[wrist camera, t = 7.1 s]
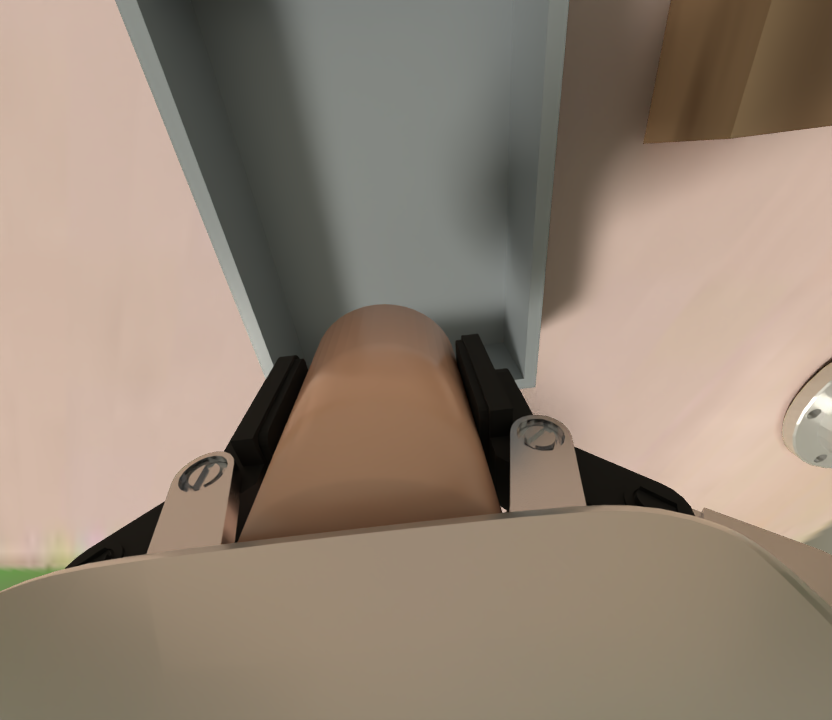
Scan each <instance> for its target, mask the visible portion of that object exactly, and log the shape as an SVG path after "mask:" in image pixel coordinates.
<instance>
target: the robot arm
mask: <svg viewBox="0 0 832 720" xmlns="http://www.w3.org/2000/svg"><path fill="white" fill-rule="evenodd" d="M455 346H456V361H457V364H458V368H459V371H460V374H461V378H462V381H463V384H464V388H465V391H466V394H467V398H468V401H469V404H470V408H471V411H472V414H473V417H474V421H475V424H476V427H477V431H478V434H479V437H480V441H481V444H482V447H483V451H484V454H485V457H486V461H487V464H488V467H489V471H490V474H491V477H492V481H493V484H494V487H495V491H496V494H497V497H498V500H499V504H500V506H501V507H503V508H504V509H506V510H507V511H506V512H505V513H495V514H486V515H477V516H468V517H458V518H449V519H440V520H431V521H421V522H412V523H403V524H394V525H385V526H376V527H367V528H359V529H350V530H341V531H332V532H323V533H315V534H306V535H297V536H289V537H280V538H272V539H263V540H255V541H247V542H238V540H239V538H240V535H241V533H242V530H243V528H244V525H245V523H246V521H247V518H248V516H249V513H250V511H251V508H252V506H253V504H254V501H255V499H256V496H257V494H258V491H259V489H260V487H261V484H262V482H263V479H264V477H265V474H266V472H267V469H268V467H269V465H270V462H271V460H272V457H273V455H274V452H275V450H276V448H277V445H278V443H279V440H280V438H281V435H282V433H283V431H284V428H285V426H286V423H287V421H288V418H289V416H290V414H291V411H292V409H293V406H294V404H295V401H296V399H297V397H298V394H299V392H300V389H301V387H302V384H303V382H304V380H305V377H306V375H307V372H308V368H307V365H306V362H305V360H304V359H303V358H302V359H300V358H299V357H298V356H297V355H292V356H284V357H279V358H278V359H277V361H276V363H275V364H274V366H273V368H272V370H271V371H270V373H269V375H268V376H267V378H266V380H265V382H264V383H263V385H262V387H261V388H260V390H259V392H258V394H257V395H256V397H255V399H254V400H253V402H252V404H251V406H250V407H249V409H248V411H247V412H246V414H245V416H244V418H243V419H242V421H241V423H240V425H239V426H238V428H237V430H236V431H235V433H234V435H233V437H232V438H231V440H230V442H229V444H228V445H227V447H226V449H225V451H224V452H218V451H217V452H212V453H208V454H205V455H202V456H200V457H198V458H196V459H194V460H193V461H191V462H189V463H188V464H187V465H186V466H184V467H183V468H182V469H181V470H180V471H179V472H178V473H177V474H176V475H175V477H174V479H173V481H172V483H171V486H170V489H169V491H168V494H167V497H166V500H165V502H163V503H161V504H160V505H158V506H157V507H155V508H153V509H152V510H150V511H149V512H147V513H145V514H144V515H142V516H141V517H139V518H137V519H136V520H134V521H133V522H131V523H129V524H128V525H126V526H124V527H123V528H121V529H120V530H118V531H116V532H115V533H113V534H112V535H110V536H108V537H107V538H105V539H104V540H102V541H100V542H99V543H97V544H96V545H94V546H92V547H91V548H89V549H88V550H86V551H85V552H84V553H82V554H81V555H79V556H78V557H77V558H76V559H74V560H73V561H72V562H71V563H70V564H69V565H68V566H67V567H66V568H65V569H63V570H59V571H55V572H52V573H49V574H46V575H43V576H40V577H36V578H33V579H30V580H27V581H24V582H22V583H19V584H17V585H15V586H12V587H10V588H7V589H5V590H3V591H0V720H832V555H831V554H828V553H827V552H824V551H822V550H820V549H817V548H814V547H811V546H809V545H806V544H803V543H800V542H798V541H795V540H792V539H789V538H787V537H784V536H781V535H778V534H776V533H773V532H770V531H767V530H765V529H762V528H759V527H756V526H754V525H751V524H748V523H745V522H743V521H740V520H737V519H734V518H732V517H729V516H726V515H723V514H721V513H718V512H715V511H712V510H710V509H707V508H703V510H702V512H699V511H697V510H694V509H692V508H691V506H690V505H689V504H688V503H687V502H686V500H685V499H684V498H683V497H682V496H680V495H679V494H678V493H676V492H675V491H674V490H672V489H671V488H669V487H667V486H665V485H663V484H661V483H659V482H656V481H654V480H652V479H649V478H647V477H645V476H642V475H640V474H637V473H635V472H633V471H630V470H628V469H626V468H623V467H621V466H619V465H616V464H614V463H611V462H609V461H607V460H604V459H602V458H600V457H597V456H595V455H593V454H590V453H588V452H586V451H583V450H581V449H578V448H576V447H574V445H573V440H572V436H571V433H570V431H569V429H568V428H567V427H566V426H565V425H564V424H563V423H561V422H559V421H558V420H556V419H553V418H551V417H548V416H542V415H533V414H532V412H531V410H530V408H529V406H528V405H527V403H526V401H525V399H524V397H523V395H522V393H521V391H520V390H519V388H518V386H517V384H516V382H515V380H514V378H513V376H512V375H511V373H510V371H509V370H508V369H507V368H503V369H495V368H494V366H493V364H492V362H491V360H490V358H489V356H488V353H487V351H486V349H485V347H484V345H483V343H482V341H481V339H480V336H479V334H469V335H461V340H456V341H455ZM782 437H783V442H784V444H785V445H786V447H787V448H788V450H789V451H791V452H792V453H793V454H795V455H796V456H797V457H798V458H800V459H801V460H802V461H804V462H806V463H808V464H810V465H813V466H817V467H822V468H832V362H831V363H829V364H828V365H827V366H825V367H824V368H823V369H822V370H821V371H820V372H818V373H817V374H816V375H815V376H814V377H813V378H812V379H811V380H810V381H809V382H808V383H807V384H806V385H805V386H804V387H803V389H802V390H801V391H800V392H799V393H798V395H797V396H796V397H795V399H794V400H793V402H792V404H791V405H790V407H789V408H788V410H787V413H786V415H785V418H784V421H783V427H782ZM237 542H238V543H237Z"/></svg>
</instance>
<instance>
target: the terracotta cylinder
mask: <svg viewBox="0 0 832 720" xmlns="http://www.w3.org/2000/svg"><path fill="white" fill-rule="evenodd" d="M495 513H502V510H501V507H500V504H499V500H498V497H497V494H496V491H495V487H494V484H493V481H492V477H491V474H490V471H489V467H488V464H487V461H486V457H485V454H484V451H483V447H482V444H481V441H480V437H479V434H478V431H477V427H476V424H475V421H474V417H473V414H472V411H471V408H470V404H469V401H468V398H467V394H466V391H465V388H464V384H463V381H462V378H461V374H460V371H459V368H458V364H457V361H456V358H455V354H454V351H453V348H452V345H451V343H450V341H449V339H448V337H447V336H446V334H445V333H444V331H443V330H442V329H441V328H440V327H439V326H438V325H437V324H436V323H435V322H434V321H433V320H432V319H430V318H429V317H427V316H426V315H424V314H422V313H420V312H418V311H416V310H414V309H410V308H407V307H404V306H399V305H390V304H379V305H370V306H365V307H362V308H359V309H356V310H353V311H351V312H349V313H347V314H345V315H344V316H342V317H341V318H339V319H338V320H337V321H336V322H334V323H333V324H332V325H331V326H330V327H329V329H328V330H327V331H326V332H325V334H324V335H323V337H322V339H321V341H320V343H319V346H318V348H317V350H316V353H315V355H314V358H313V360H312V362H311V365H310V367H309V370H308V372H307V375H306V377H305V380H304V382H303V384H302V387H301V389H300V392H299V394H298V397H297V399H296V401H295V404H294V406H293V409H292V411H291V414H290V416H289V418H288V421H287V423H286V426H285V428H284V431H283V433H282V435H281V438H280V440H279V443H278V445H277V448H276V450H275V452H274V455H273V457H272V460H271V462H270V465H269V467H268V469H267V472H266V474H265V477H264V479H263V482H262V484H261V487H260V489H259V491H258V494H257V496H256V499H255V501H254V504H253V506H252V508H251V511H250V513H249V516H248V518H247V521H246V523H245V525H244V528H243V530H242V533H241V535H240V538H239V540H238V542H247V541H255V540H263V539H272V538H280V537H289V536H297V535H306V534H315V533H323V532H332V531H341V530H350V529H359V528H367V527H376V526H385V525H394V524H403V523H412V522H421V521H431V520H440V519H449V518H458V517H468V516H477V515H486V514H495ZM238 542H237V543H238Z"/></svg>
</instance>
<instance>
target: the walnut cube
mask: <svg viewBox="0 0 832 720" xmlns="http://www.w3.org/2000/svg"><path fill="white" fill-rule="evenodd" d="M825 126H832V0H671V3H670V8H669V13H668V18H667V24H666V29H665V34H664V39H663V44H662V49H661V55H660V60H659V65H658V70H657V75H656V80H655V86H654V91H653V96H652V101H651V106H650V111H649V117H648V122H647V127H646V132H645V137H644V143H643V144H645V143H663V142H680V141H697V140H714V139H731V138H738V137H746V136H754V135H762V134H770V133H778V132H785V131H793V130H801V129H809V128H817V127H825Z"/></svg>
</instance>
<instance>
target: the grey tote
mask: <svg viewBox="0 0 832 720" xmlns="http://www.w3.org/2000/svg"><path fill="white" fill-rule="evenodd" d="M115 1H116V4H117V6H118V9H119V11H120V14H121V16H122V19H123V21H124V24H125V26H126V29H127V31H128V34H129V36H130V39H131V41H132V44H133V47H134V49H135V52H136V54H137V57H138V59H139V62H140V64H141V67H142V69H143V72H144V74H145V77H146V79H147V82H148V84H149V87H150V89H151V92H152V94H153V97H154V99H155V102H156V104H157V107H158V109H159V112H160V114H161V117H162V119H163V122H164V124H165V127H166V129H167V132H168V134H169V137H170V140H171V142H172V145H173V147H174V150H175V152H176V155H177V157H178V160H179V162H180V165H181V167H182V170H183V172H184V175H185V177H186V180H187V182H188V185H189V187H190V190H191V192H192V195H193V197H194V200H195V202H196V205H197V207H198V210H199V212H200V215H201V217H202V220H203V222H204V225H205V227H206V230H207V233H208V235H209V238H210V240H211V243H212V245H213V248H214V250H215V253H216V255H217V258H218V260H219V263H220V265H221V268H222V270H223V273H224V275H225V278H226V280H227V283H228V285H229V288H230V290H231V293H232V295H233V298H234V300H235V303H236V305H237V308H238V310H239V313H240V315H241V318H242V320H243V323H244V326H245V328H246V331H247V333H248V336H249V338H250V341H251V343H252V346H253V348H254V351H255V353H256V356H257V358H258V361H259V363H260V366H261V368H262V371H263V373H264V376H265V378H267V376H268V375H269V373H270V371H271V370H272V368H273V366H274V364H275V363H276V361H277V359H278V358H279V357H284V356H292V355H297V356H298V357H299V358H300V359H302V358H303V359H304V360H305V362H306V365H307V368H308V370H309V367H310V365H311V362H312V360H313V358H314V355H315V353H316V350H317V348H318V346H319V343H320V341H321V339H322V337H323V335H324V334H325V332H326V331H327V330H328V329H329V327H330V326H331V325H332V324H333V323H334V322H336V321H337V320H338V319H339V318H341V317H342V316H344V315H345V314H347V313H349V312H351V311H353V310H356V309H359V308H362V307H365V306H370V305H379V304H390V305H399V306H404V307H407V308H410V309H414V310H416V311H418V312H420V313H422V314H424V315H426V316H427V317H429V318H430V319H432V320H433V321H434V322H435V323H436V324H437V325H438V326H439V327H440V328H441V329H442V330H443V331H444V333H445V334H446V336H447V337H448V339H449V341H450V343H451V345H452V348H453V351H454V354H455V358H456V346H455V341H456V340H461V335H469V334H479V336H480V339H481V341H482V343H483V345H484V347H485V349H486V351H487V353H488V356H489V358H490V360H491V362H492V364H493V366H494V368H495V369H503V368H507V369H508V370H509V371H510V373H511V375H512V376H513V378H514V380H515V382H516V384H517V386H518V388H519V389H524V388H533V387H535V385H536V374H537V362H538V351H539V339H540V328H541V317H542V305H543V294H544V282H545V271H546V259H547V248H548V237H549V225H550V214H551V202H552V191H553V180H554V168H555V157H556V145H557V134H558V123H559V111H560V100H561V88H562V77H563V65H564V54H565V43H566V31H567V20H568V8H569V0H115Z"/></svg>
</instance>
